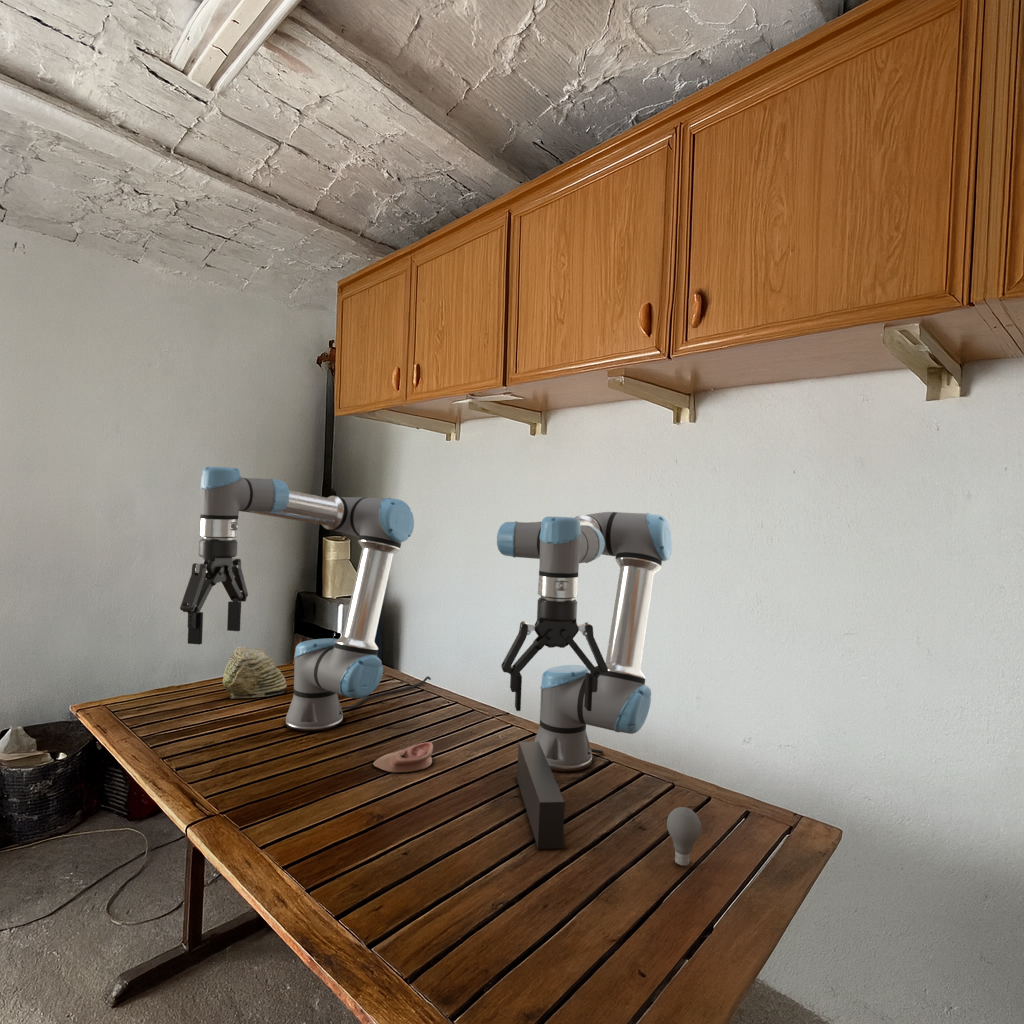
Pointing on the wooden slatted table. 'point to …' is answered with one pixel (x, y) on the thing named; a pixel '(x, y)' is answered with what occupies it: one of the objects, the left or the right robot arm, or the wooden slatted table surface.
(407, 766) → the anatomical model
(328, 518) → the left robot arm
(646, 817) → the wooden slatted table surface
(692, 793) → the wooden slatted table surface
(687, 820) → the light bulb
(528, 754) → the bar
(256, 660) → the fossil
